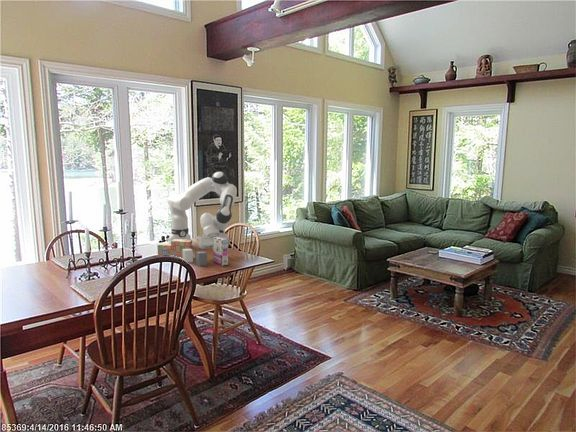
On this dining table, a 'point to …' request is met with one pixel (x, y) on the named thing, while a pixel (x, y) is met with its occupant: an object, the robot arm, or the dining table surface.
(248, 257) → the dining table surface
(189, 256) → the pale grey block
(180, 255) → the stack of blocks
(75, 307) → the dining table surface
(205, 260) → the charcoal block
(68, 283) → the dining table surface
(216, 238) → the candy bar box
